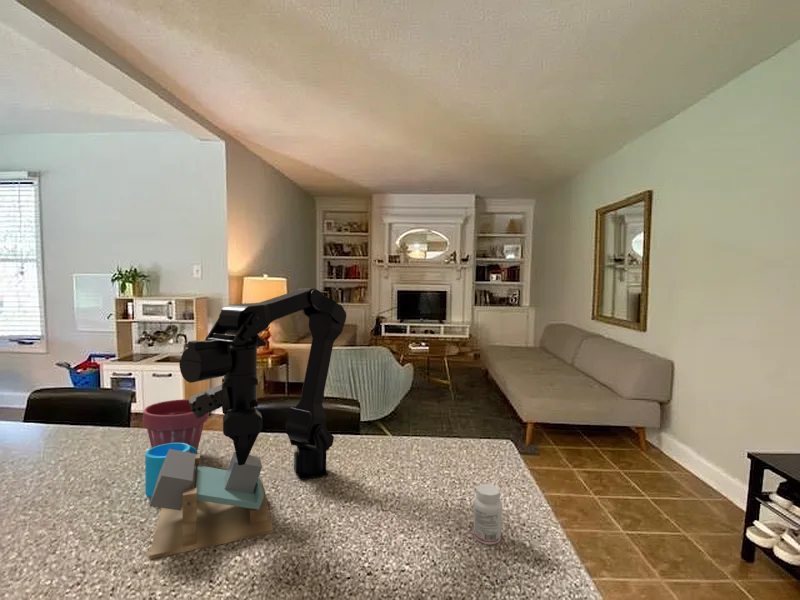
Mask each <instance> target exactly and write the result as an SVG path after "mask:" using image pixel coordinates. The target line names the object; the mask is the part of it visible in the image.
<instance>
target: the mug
mask: <svg viewBox="0 0 800 600" xmlns="http://www.w3.org/2000/svg"><path fill="white" fill-rule="evenodd" d="M169 449H173V450H178V451H183V452H188V453H190V450H191V451H192V453H194V454H199V452H198V451H199V450H196V448H195V447H193V446H189V445H188V444H185V443H168V444H163V445H158V446H156V447H153V448H151V447H150V448H149V449H147V451H145V458H144V459H145V460H144V461H145V462H144V463H145V469H144V473H145V476H144V478H145V481H144V482H145V483H144V485H145V488H144V489H145V490H144V492H145V493H144V494H145V495H146V496H147V497H149V498H150V499H152V496H153V492H154V489H155V486H156V482H157V479H158V476H159V473H160V470H161V468H162V465H163V463H164V460H165V458H166V455H167V453H168V450H169Z"/></svg>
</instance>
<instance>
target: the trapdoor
mask: <svg viewBox="0 0 800 600" xmlns="http://www.w3.org/2000/svg"><path fill="white" fill-rule="evenodd" d="M195 456H196V454H194V453H188V452H183V451H178V450H173V449H169V450H168V453H167V455H166V458H165V460H164V463H163V465H162V468H161V470H160V473H159V476H158V479H157V482H156V486H155V489H154V492H153V496H152V498H150V502H149V507H153V508H159V509H161V508H166V509H174V510H181V509H182V506H183V490H185V489H189V488H190V486H191V483H192V480H193V472H194V464H195ZM226 472H227V469H222V468H215V467H211V466H204V465H201V464H200V465H198V467H197V470H196V477H195V487H194V488H197V500H198V501H205V502H211V503H218V504H225V505H231V506H238V507H245V508H251V509H258V510H259V508H260V506H261V503H262V500H263V498H264V493H263V488H262V484H261V480H260V479H261V476H260V475H261V474H260V475H259V477H258V480H257V483H256V485H255V488H254V491H253V493H252V494H250V493H244V492H238V491H232V490H226V489H225V479H224V477H225V475H226Z"/></svg>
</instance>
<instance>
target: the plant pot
mask: <svg viewBox="0 0 800 600" xmlns="http://www.w3.org/2000/svg"><path fill="white" fill-rule="evenodd" d="M189 400H190V398H189V399H186V398H185V399H174V400H166V401H165V400H164V401H160V402H157V403H153V404H150V405H147V406H146V407H144V409H143V410H142V411H143V413H142V426H143V428H144V429H146V430H147V435H148V439H149V442H150V443H149V444H150V449H151V448H153V447H156V446H158V445H163V444H168V443H185V444H188V445H189V446H193V447H195V448H196V450H197V451H199V450H198V449H199V445H200V441H201V437H202V434H203V428H204V424H205V423H206V422H207V421H208V419H209V413H207V414H205V415H204V416H203V417H200V418H195V416H194V413H193V412H192V411H191V409H192V408H191V406H190V404H189ZM190 453H192V451H191V450H190Z"/></svg>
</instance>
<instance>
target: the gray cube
mask: <svg viewBox="0 0 800 600" xmlns="http://www.w3.org/2000/svg"><path fill="white" fill-rule="evenodd" d="M262 469H263V465H262V461H261V457H260V456H256V455H252V454H249V456H248V458H247V460H246V463H245V464H244V465H238V462H237V457H236V452H235V451H234V452H233V454H232V456H231V458H230V462H229V465H228V467H227V469H226V470H227V472H226V475H225V477H224V479H225V489H226V490H232V491H238V492H244V493H250V494H252V493H253V491H254V488H255V485H256V483H257V480H258V477H259V475H261V472H262Z"/></svg>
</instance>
